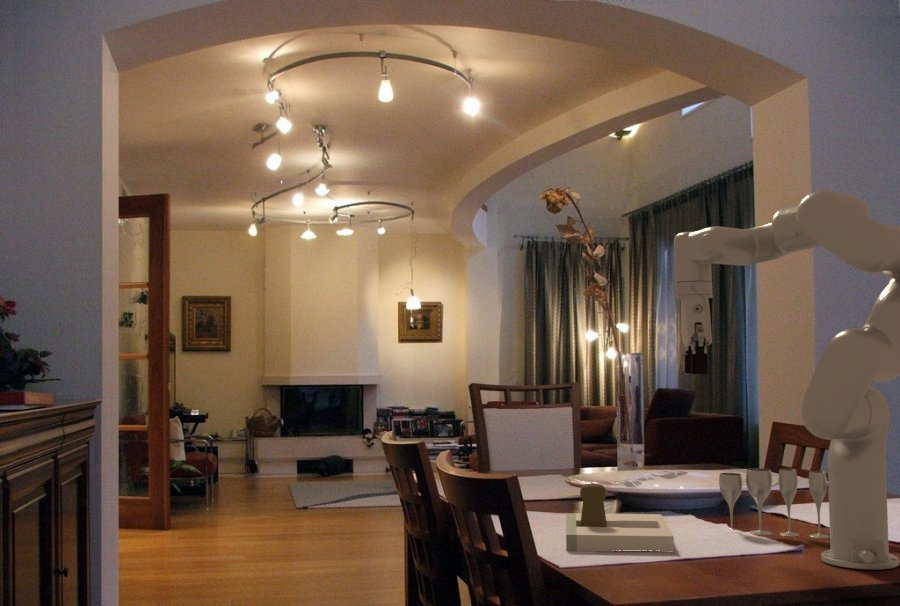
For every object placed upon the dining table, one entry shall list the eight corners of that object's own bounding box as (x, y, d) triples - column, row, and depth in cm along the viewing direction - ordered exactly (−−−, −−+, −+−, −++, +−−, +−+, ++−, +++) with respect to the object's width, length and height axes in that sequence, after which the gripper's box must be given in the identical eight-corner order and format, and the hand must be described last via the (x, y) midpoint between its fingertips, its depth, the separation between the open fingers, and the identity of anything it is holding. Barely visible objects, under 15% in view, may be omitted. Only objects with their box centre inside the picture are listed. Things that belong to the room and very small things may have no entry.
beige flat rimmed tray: (673, 552, 175) (673, 536, 175) (566, 550, 178) (566, 534, 178) (661, 528, 199) (660, 514, 199) (566, 527, 201) (566, 513, 202)
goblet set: (718, 533, 194) (717, 468, 195) (721, 528, 199) (720, 465, 200) (866, 542, 184) (863, 474, 184) (865, 536, 189) (862, 470, 190)
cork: (608, 542, 185) (607, 486, 186) (577, 541, 186) (576, 485, 187) (609, 536, 191) (608, 482, 192) (579, 535, 192) (578, 481, 193)
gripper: (719, 287, 186) (721, 374, 185) (705, 293, 203) (707, 372, 202) (680, 288, 187) (683, 374, 186) (670, 294, 204) (672, 373, 203)
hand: (696, 373), depth 194 cm, fingers open, 9 cm apart
